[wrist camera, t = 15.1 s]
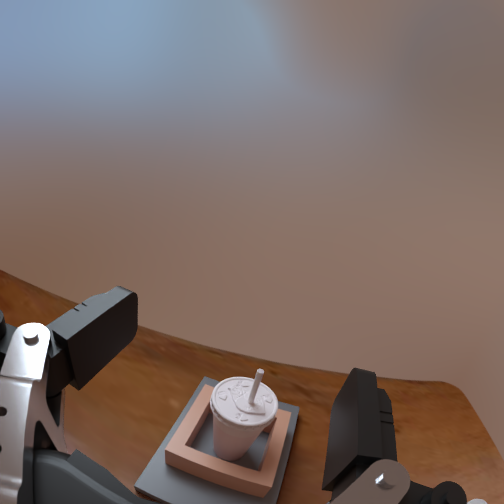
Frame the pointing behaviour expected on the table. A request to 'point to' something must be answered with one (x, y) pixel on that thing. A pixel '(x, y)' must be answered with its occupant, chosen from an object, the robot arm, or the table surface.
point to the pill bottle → (477, 501)
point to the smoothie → (240, 414)
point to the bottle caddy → (217, 459)
